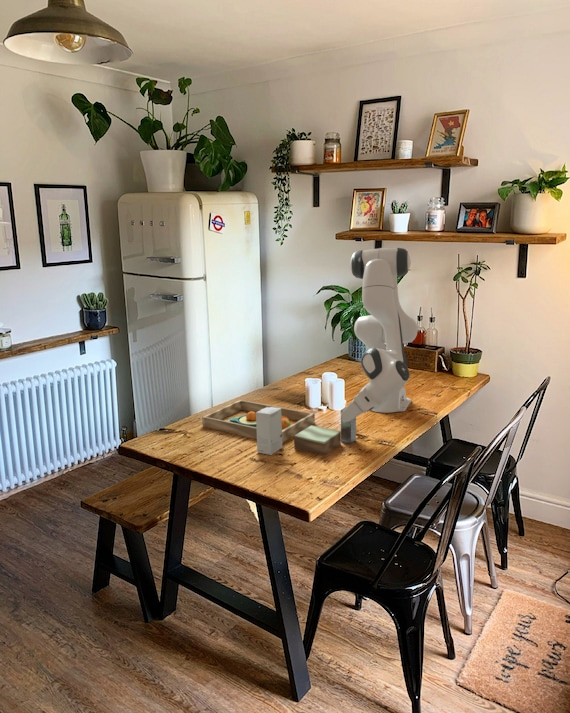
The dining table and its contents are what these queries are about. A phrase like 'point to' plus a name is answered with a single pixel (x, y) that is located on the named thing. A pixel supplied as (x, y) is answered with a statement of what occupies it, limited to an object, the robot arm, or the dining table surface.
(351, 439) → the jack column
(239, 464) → the dining table surface
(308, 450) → the block
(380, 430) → the dining table surface
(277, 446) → the skincare box
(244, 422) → the toy juicer set
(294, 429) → the shallow serving tray
